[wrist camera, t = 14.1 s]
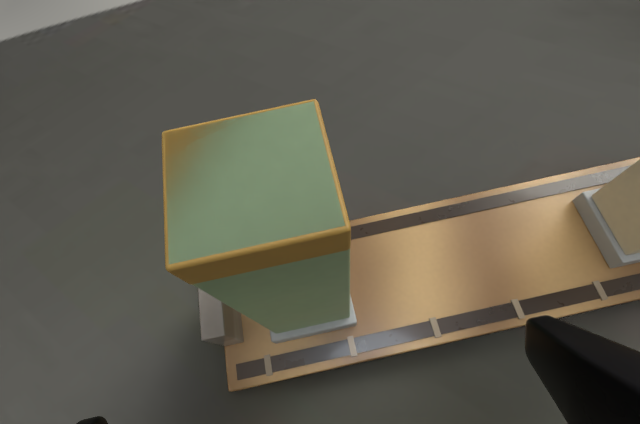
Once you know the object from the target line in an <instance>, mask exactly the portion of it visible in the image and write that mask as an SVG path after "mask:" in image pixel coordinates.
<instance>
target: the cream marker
mask: <svg viewBox="0 0 640 424" xmlns="http://www.w3.org/2000/svg"><path fill="white" fill-rule="evenodd" d="M572 201H573V203H574V205H575V207H576V208H577V210H578V212H579V214H580V216H581V217H582V219H583V221H584V223H585V225H586V226H587V228H588V230H589V232H590V234H591V235H592V237H593V239H594V241H595V243H596V244H597V246H598V248H599V250H600V252H601V253H602V255H603V257H604V259H605V260H606V262H607V264H608V266H609V268H616V267H620V266H625V265H629V264H634V263H638V262H640V159H639V160H638V161H637V162H635V163H634V164H633V165H631V166H630V167H629V168H627V169H626V170H625V171H623V172H622V173H621V174H619V175H618V176H617V177H615V178H614V179H613V180H611V181H610V182H609V183H607V184H606V185H605V186H603V187H602V188H599V189H594V190H590V191H585V192H582V193H581V194H580V195H578V196H577V197H576V198H575V199H573V200H572Z"/></svg>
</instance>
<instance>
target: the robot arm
mask: <svg viewBox="0 0 640 424" xmlns="http://www.w3.org/2000/svg"><path fill="white" fill-rule="evenodd" d="M525 350H526V354H527V357H528V359H529V361H530V363H531V365H532V366H533V368H534V369H535V371H536V373H537V374H538V376H539V377H540V379H541V381H542V382H543V384H544V385H545V387H546V389H547V390H548V392H549V393H550V395H551V397H552V398H553V400H554V402H555V403H556V405H557V406H558V408H559V410H560V411H561V413H562V414H563V416H564V418H565V419H566V421H567V422H568V424H640V352H639V351H636V350H634V349H631V348H629V347H626V346H624V345H621V344H619V343H616V342H614V341H611V340H609V339H606V338H604V337H601V336H599V335H597V334H594V333H592V332H589V331H587V330H584V329H582V328H579V327H577V326H574V325H572V324H569V323H567V322H564V321H562V320H559V319H557V318H554V317H552V316H549V315H542V316H537V317H533V318H529V319H528V320H527V321H526V325H525ZM77 424H108V423H107V421H106V419H105V418H103V417H101V416H97V417H93V418H88V419H84V420H81V421H79V422H78V423H77Z"/></svg>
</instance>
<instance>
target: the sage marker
mask: <svg viewBox="0 0 640 424" xmlns="http://www.w3.org/2000/svg"><path fill="white" fill-rule="evenodd" d="M162 160H163V196H164V232H165V267H166V270H167V271H168V272H169V273H171V274H173V275H175V276H176V277H178V278H180V279H182V280H183V281H185V282H187V283H188V284H192V285H194V286H196V287H197V288H199V289H201V290H202V291H204V292H206V293H208V294H209V295H211V296H213V297H214V298H216V299H218V300H219V301H221V302H223V303H225V304H226V305H228V306H230V307H231V308H233V309H235V310H236V311H238V312H240V313H242V314H243V315H245V316H247V317H248V318H250V319H252V320H254V321H255V322H257V323H259V324H260V325H262V326H264V327H265V328H267V329H269V330H270V336H271V341H272V342H273V343H276V344H277V343H282V342H286V341H291V340H295V339H300V338H304V337H308V336H313V335H317V334H322V333H326V332H331V331H335V330H340V329H344V328H348V327H353V326H356V324H357V320H356V315H355V311H354V307H353V303H352V299H351V295H350V247H351V226H350V222H349V218H348V214H347V210H346V206H345V203H344V199H343V195H342V191H341V187H340V184H339V180H338V176H337V172H336V168H335V164H334V161H333V157H332V153H331V149H330V145H329V141H328V138H327V134H326V130H325V126H324V122H323V118H322V115H321V111H320V107H319V103H318V102H317V100H315V99H312V100H308V101H303V102H298V103H293V104H289V105H284V106H279V107H275V108H270V109H265V110H261V111H256V112H251V113H247V114H242V115H237V116H233V117H228V118H223V119H219V120H214V121H209V122H205V123H200V124H195V125H190V126H186V127H181V128H176V129H172V130H167V131H164V132H162Z"/></svg>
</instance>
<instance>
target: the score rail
mask: <svg viewBox="0 0 640 424" xmlns="http://www.w3.org/2000/svg"><path fill="white" fill-rule="evenodd" d="M639 159H640V157H638V158H633V159H629V160H624V161H620V162H615V163H611V164H606V165H601V166H597V167H592V168H588V169H583V170H579V171H574V172H570V173H565V174H560V175H556V176H551V177H547V178H542V179H538V180H533V181H529V182H524V183H520V184H515V185H510V186H506V187H501V188H497V189H492V190H488V191H483V192H479V193H474V194H469V195H465V196H460V197H456V198H451V199H447V200H442V201H438V202H433V203H428V204H424V205H419V206H415V207H410V208H406V209H401V210H397V211H392V212H388V213H383V214H378V215H374V216H369V217H365V218H360V219H356V220H351V221H349V222H350V226H351V247H350V295H351V299H352V303H353V307H354V311H355V315H356V320H357V324H356V326H353V327H348V328H344V329H340V330H335V331H331V332H326V333H322V334H317V335H313V336H308V337H304V338H300V339H295V340H291V341H286V342H282V343H277V344H276V343H273V342H272V341H271V336H270V330H269V329H267V328H265V327H264V326H262V325H260V324H259V323H257V322H255V321H254V320H252V319H250V318H248V317H247V316H245V315H243V314H242V313H240V312H238V311H236V310H235V309H233V308H231V307H230V306H228V305H226V304H225V303H223V302H221V301H219V300H218V299H216V298H214V297H213V296H211V295H209V294H208V293H206V292H204V291H202V290H201V289H199V288H198V298H199V313H200V329H201V340H202V341H204V342H209V343H213V344H217V345H221V346H224V348H225V359H226V371H227V382H228V391H229V392H233V391H239V390H243V389H247V388H252V387H256V386H261V385H265V384H269V383H274V382H278V381H283V380H287V379H292V378H296V377H300V376H305V375H309V374H314V373H318V372H322V371H327V370H331V369H336V368H340V367H345V366H349V365H353V364H358V363H362V362H367V361H371V360H375V359H380V358H384V357H389V356H393V355H398V354H402V353H406V352H411V351H415V350H420V349H424V348H428V347H433V346H437V345H442V344H446V343H451V342H455V341H459V340H464V339H468V338H473V337H477V336H481V335H486V334H490V333H495V332H499V331H504V330H508V329H512V328H517V327H521V326H525V325H526V321H527V320H528V319H529V318H533V317H537V316H542V315H549V316H552V317H554V318H561V317H565V316H570V315H574V314H579V313H583V312H587V311H592V310H596V309H601V308H605V307H610V306H614V305H618V304H623V303H627V302H632V301H636V300H640V262H638V263H634V264H629V265H625V266H620V267H616V268H609V266H608V264H607V262H606V260H605V259H604V257H603V255H602V253H601V252H600V250H599V248H598V246H597V244H596V243H595V241H594V239H593V237H592V235H591V234H590V232H589V230H588V228H587V226H586V225H585V223H584V221H583V219H582V217H581V216H580V214H579V212H578V210H577V208H576V207H575V205H574V203H573V201H572V200H573V199H575V198H576V197H577V196H578V195H580V194H581V193H582V192H585V191H590V190H594V189H599V188H602V187H603V186H605V185H606V184H607V183H609V182H610V181H611V180H613V179H614V178H615V177H617V176H618V175H619V174H621V173H622V172H623V171H625V170H626V169H627V168H629V167H630V166H631V165H633V164H634V163H635V162H637V161H638V160H639Z"/></svg>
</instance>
